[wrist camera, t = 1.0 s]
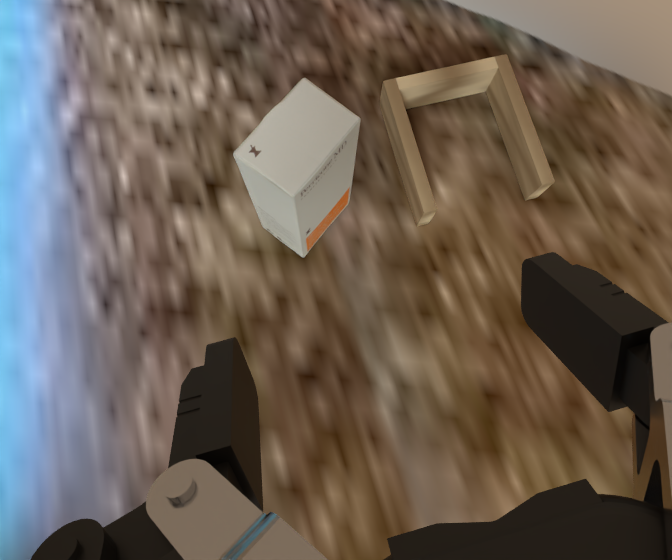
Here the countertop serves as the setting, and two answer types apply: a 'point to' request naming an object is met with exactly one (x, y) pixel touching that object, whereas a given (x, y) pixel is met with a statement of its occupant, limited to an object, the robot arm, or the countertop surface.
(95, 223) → the countertop surface
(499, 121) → the u-shaped wooden frame
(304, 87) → the skincare box
